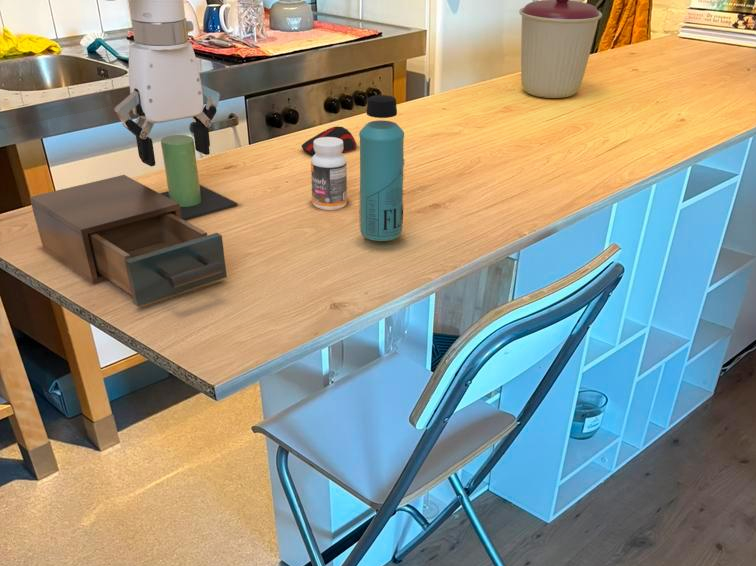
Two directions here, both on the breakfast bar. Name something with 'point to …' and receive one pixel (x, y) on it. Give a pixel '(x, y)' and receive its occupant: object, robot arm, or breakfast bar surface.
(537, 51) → the canister
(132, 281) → the drawer
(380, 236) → the beverage bottle
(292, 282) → the breakfast bar surface
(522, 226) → the breakfast bar surface
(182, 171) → the green can
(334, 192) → the pill bottle
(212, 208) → the mat
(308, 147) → the computer mouse
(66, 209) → the cabinet
